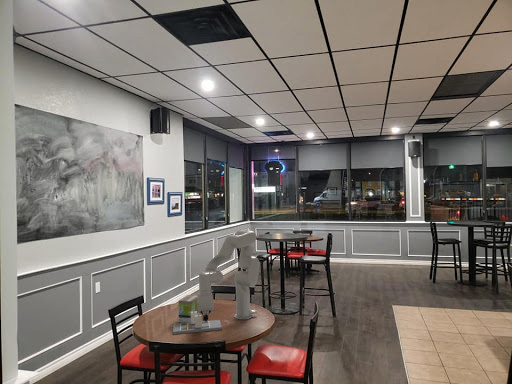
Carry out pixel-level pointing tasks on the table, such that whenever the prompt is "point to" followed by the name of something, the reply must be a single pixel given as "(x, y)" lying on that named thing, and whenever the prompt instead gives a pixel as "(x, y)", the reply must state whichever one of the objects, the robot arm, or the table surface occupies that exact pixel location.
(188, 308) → the tea box
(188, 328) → the console
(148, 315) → the table surface
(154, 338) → the table surface
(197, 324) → the block
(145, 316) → the table surface
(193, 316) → the tab
